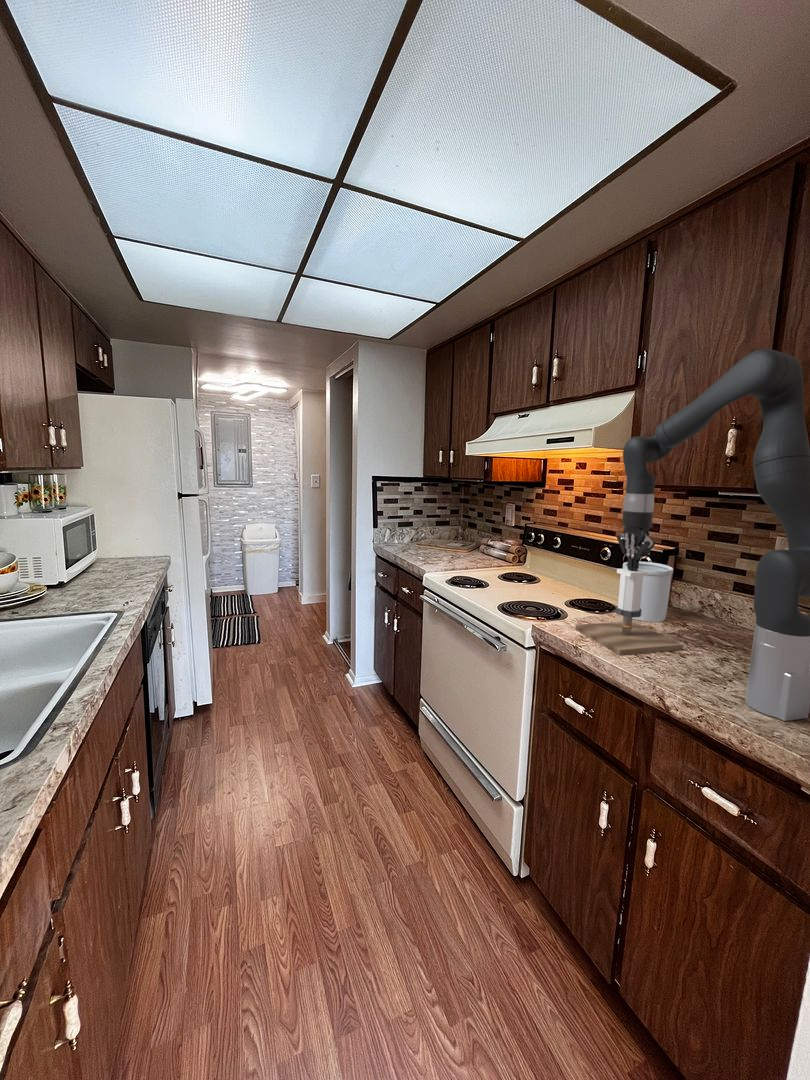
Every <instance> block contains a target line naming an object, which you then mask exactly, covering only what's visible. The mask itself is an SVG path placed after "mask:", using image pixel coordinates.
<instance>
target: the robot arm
mask: <svg viewBox="0 0 810 1080" xmlns="http://www.w3.org/2000/svg"><path fill="white" fill-rule="evenodd" d="M802 367H803V366H802V365H801V362H800V361H799V359H798V358H796V357H795V356H793V355H791V354H788V353H785V352H783V351H782V352H781V351H778V350H775V349H769V348H760V349H757V350H754V351H752V352H749V354H747V355H745V356H744V357H743V358H741V359H740V360H739V361H738V362H737V363H735V364H734V365H733V366H732V367H731V368H729V369H728V370H727V371H726V372H724V374H723V375H722V376H721V377H719V378H718V379H717V380H716V381H715V382H714V383H712V384H711V386H709V387H708V388H707V389H706V390H705V391H703V392H702V393H701V394H700V395H699V396H698V397H696V398H695V399H694V400H693V401H691V402H690V403H688V404H687V405H686V406H685V407H683V408H682V409H680V410H679V411H677V412H676V413H674V414H673V415H671V416H669V417H668V418H667V419H666V420H664V421H662V422H661V423H659V424H658V425H657V427H655V431H654V435H652V436H640V435H639V436H632V437H630V438H629V439H628V440H627V441H626V442H625V444H624V447H623V450H622V451H623V452H622V459H623V464H624V465H623V466H624V470H625V475H626V485H625V487H626V488H625V496H624V499H623V506H622V520H621V525H622V526H623V527H624V528H623V530H622V533H621V534H619V535H616V539H617V543H618V544H619V546H620V547H619V548H620V549H621V552H622V554H623V555H626V557H627V562H628V563H627V569H628V570H630V571H637V570H638V568H639V562H640V559H641V558H645V557H646V556H647V555H648V554H649V552H651V550H652V549H653V547H654V546H655V545H656V541H655V540H651V538H650V531H649V530H650V528H651V527H652V526H653V519H654V518H653V517H654V508H655V507H654V506H655V490H656V489H655V488H656V475H655V474H654V473H652V472H650V471H648V467H647V464H651V463H657V462H658V461H660V460H662V459H663V458H665V457H666V456H667V455H668V454H669V453H670V452H672V451H673V450H674V449H675V447H676V446H678V445H680V444H682V443H683V442H685V441H687V440H689V439H690V438H692V437H694V436H696V434H698V433H700V432H701V431H702V430H703V429H705V428H706V427H707V425H709V423H710V422H711V420H712V419H713V418H714V417H715V415H716V414H717V413H718V412H719V411H721V410H722V409H723V408H724V407H726V406H728V405H729V404H731V403H734V402H735V401H737V400H739V399H741V398H743V397H746V396H750V397H754V398H757V400H758V402H759V405H760V411H761V416H762V430H761V434H760V436H759V439H758V441H757V443H756V447H755V450H754V452H753V459H752V460H753V461H752V464H753V465H752V466H753V473H754V480H755V487H756V489H757V492H758V494H759V496H760V498H761V499H762V501H763V502H764V503H765V505H766V506H767V507H768V509H769V510H771V513H773V514H774V516H775V517H776V518H777V519H778V521H779V522H780V524H781V525H782V528H783V529H784V532H785V536H786V540H787V546H788V547H787V548H788V549H773V550H769V551H767V552H765V553H764V554H763V555H762V556H761V558H760V559H759V561H758V564H757V566H756V570H755V579H754V591H753V592H754V593H753V594H754V595H753V609H754V613H755V616H756V617H755V625H754V633H753V640H752V647H751V655H750V660H749V661H750V662H749V670H748V676H747V681H746V682H747V683H746V690H745V691H746V692H745V696H744V697H745V698H744V702H745V704H746V705H747V706H748V707H750V708H752V709H753V710H755V711H756V712H759V713H761V714H764V715H767V716H770V717H772V718H776V719H779V720H781V721H784V722H788V721H795V720H802V719H808V718H809V712H810V615H808V614H806V613H803V612H801V611H800V609H799V601H800V598H799V597H810V442H809V435H808V429H807V423H806V417H805V411H804V375H803V374H804V373H803V368H802Z"/></svg>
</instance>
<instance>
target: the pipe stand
mask: <svg viewBox="0 0 810 1080" xmlns="http://www.w3.org/2000/svg"><path fill="white" fill-rule="evenodd" d="M622 617H623V618H622V621H613V622H610V621H609V622H599V623H598V622H597V623H584V624H583V623H582V624H575V629H576V631H577V630H578V631H577V632H579V631H580V632H582V633H583V634H582V633H581V634H582V635H584V634H585V635H584V636H586V635H587V636H588V638H589V637H590V638H589V639H591V638H592V639H593V640H592V639H591V640H592V641H594V640H595V641H594V642H596V641H597V642H596V643H598V644H599V643H600V644H599V645H601V644H602V645H601V646H603V647H604V646H605V648H606V649H608V650H609V651H611V652H613V653H615V654H616V655H618V656H625V655H638V653H640V654H649V652H652V653H661V651H664V652H672V651H684V644H682V643H681V642H678V641H677V640H674V639H672V638H669V637H667V636H665V635H663V634H661V633H659V632H656V631H654V630H652V629H649V628H648V627H646V626H643V625H641V624H639V623H637V622H635V621H634V620H633V619H632V618H633V617H626V616H623V615H622ZM575 629H574V630H575ZM580 632H579V633H580ZM587 636H586V637H587Z"/></svg>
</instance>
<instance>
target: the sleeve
mask: <svg viewBox="0 0 810 1080" xmlns="http://www.w3.org/2000/svg"><path fill="white" fill-rule="evenodd" d="M616 573H617V574H620V577H619V578H620V579H619V588H618V600H617V601H618V602H617V606H618V608H619V609H622V610H625V611H639V610H640V604H641V593H642V583H643V577H647V576H648V572H645V571H642V570H637V571H630V570H628V569H627V568H624V569H623V568H616Z"/></svg>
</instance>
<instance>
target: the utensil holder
mask: <svg viewBox="0 0 810 1080" xmlns="http://www.w3.org/2000/svg"><path fill="white" fill-rule="evenodd" d="M627 563H628V561H626V562H623V564H622V569H624V568H627ZM638 570H642V571H645V572H648V576H647V577H643V583H642V593H641V604H640V609H642V610H641V616H640V617H633V618H632V620H634V619H636V620H635V621H638V620H641V621H640V622H644V621H649V622H648V623H660V622H663V621H665V620H666V619H667V618H666V617H667V612H668V611H667V610H668V606H669V605H668V604H669V598H670V592H671V585H672V584H671V582H672V576H673V573H674V568H673V567H672V566H669V565H667V564H663V563H657V562H649V561H639V568H638Z"/></svg>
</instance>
